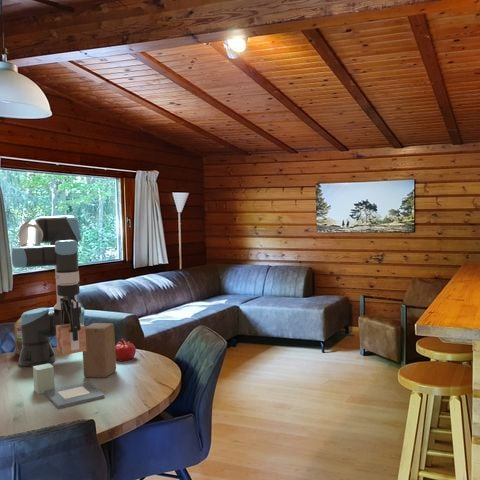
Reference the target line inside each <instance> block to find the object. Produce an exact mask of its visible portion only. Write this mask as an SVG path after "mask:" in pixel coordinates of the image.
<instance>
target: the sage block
mask: <svg viewBox="0 0 480 480" xmlns="http://www.w3.org/2000/svg"><path fill="white" fill-rule="evenodd" d="M54 367H55V366H54V365H52V364H51V363H48V364H43V365H38V366H32V372H33V373H32V375H33V391H34V392H35V393H36V395H44V394H45V393H44V391H48V390H52V389H56V383H55V381H56V380H55V368H54Z"/></svg>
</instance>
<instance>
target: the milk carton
mask: <svg viewBox="0 0 480 480" xmlns="http://www.w3.org/2000/svg"><path fill="white" fill-rule="evenodd" d="M25 312H26V311H24V312H23V313H25ZM13 325H14V326H13V327H14V341H15V343H14V345H15V355H18V354H19V356H20V353H21V350H22V329H21V317H20V318H18V320H16V321H15V323H14V324H13Z"/></svg>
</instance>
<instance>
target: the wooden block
mask: <svg viewBox="0 0 480 480" xmlns="http://www.w3.org/2000/svg"><path fill="white" fill-rule="evenodd" d="M85 333H86V351H83V352H82V367H83V369H82V370H83V377H85V378H96V377H98V378H99V379H102V378H103V379H104V378H105V377H106V378H107V377H109V376H111V375H112V374H113V373H115V372H116V370H117V360H116V355H115V346H116V337H115V335H116V334H115V325H114V323H109V322H107V323H106V322H103V323H101V322H92V323H91V324H89V325H87V326H86V325H85ZM106 378H105V379H106Z"/></svg>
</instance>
